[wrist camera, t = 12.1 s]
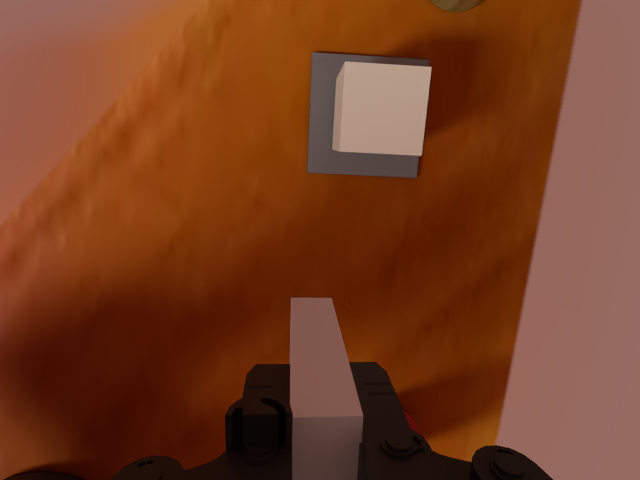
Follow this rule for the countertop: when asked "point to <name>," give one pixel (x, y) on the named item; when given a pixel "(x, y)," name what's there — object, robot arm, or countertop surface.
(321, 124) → the gray peg base
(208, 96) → the countertop surface
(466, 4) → the vase
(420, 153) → the white rectangular block
